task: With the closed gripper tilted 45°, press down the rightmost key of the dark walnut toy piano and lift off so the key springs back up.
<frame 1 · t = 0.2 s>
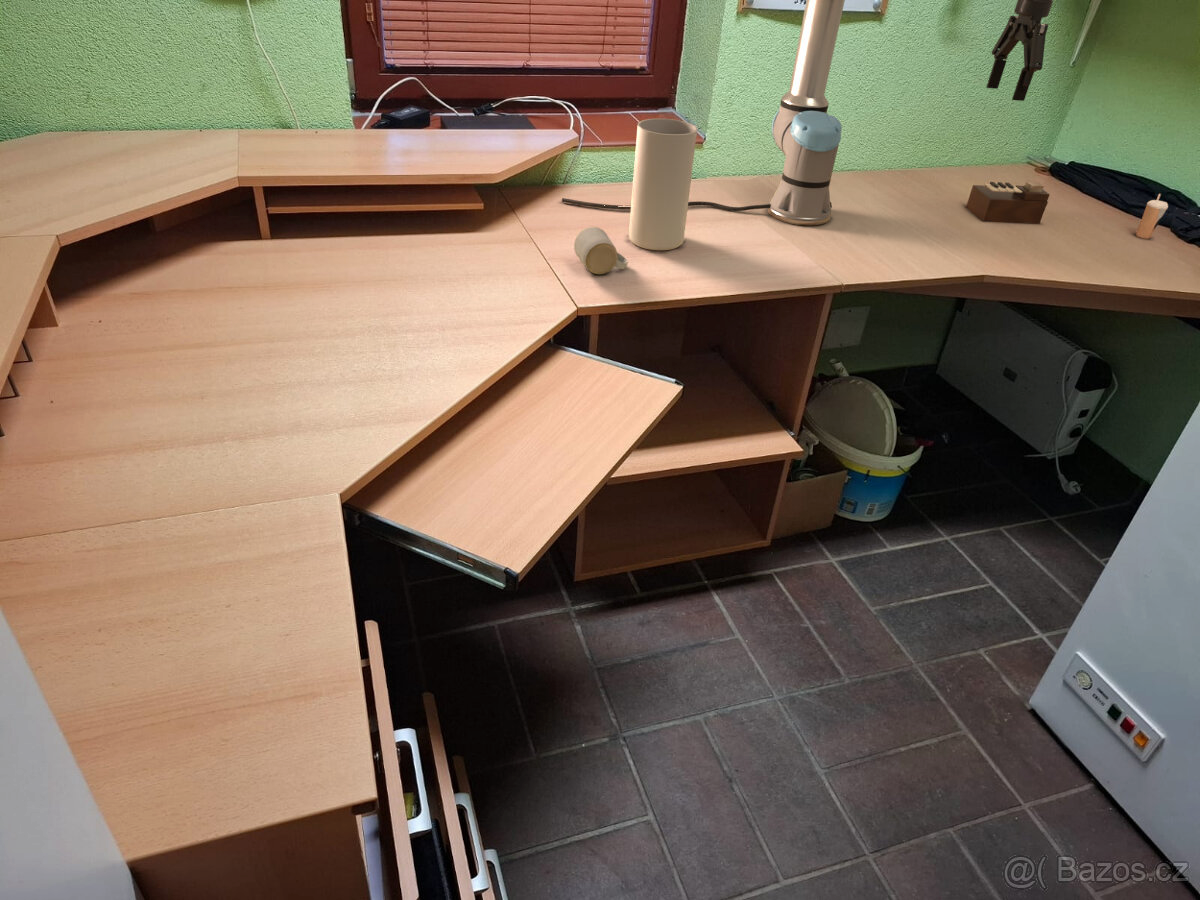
hand: (1004, 94, 200), 28 cm above the table, tool pointing down, fingers open, 13 cm apart
ceramic mug: (601, 268, 171), on the table
key: (1033, 187, 206), point 8 cm above the table, slide at 0.1 cm
keyboard: (1003, 187, 206), on the piano, point 8 cm above the table
piano: (1002, 214, 213), on the table
milkshake: (1142, 236, 206), on the table
cylinder vase: (655, 241, 184), on the table
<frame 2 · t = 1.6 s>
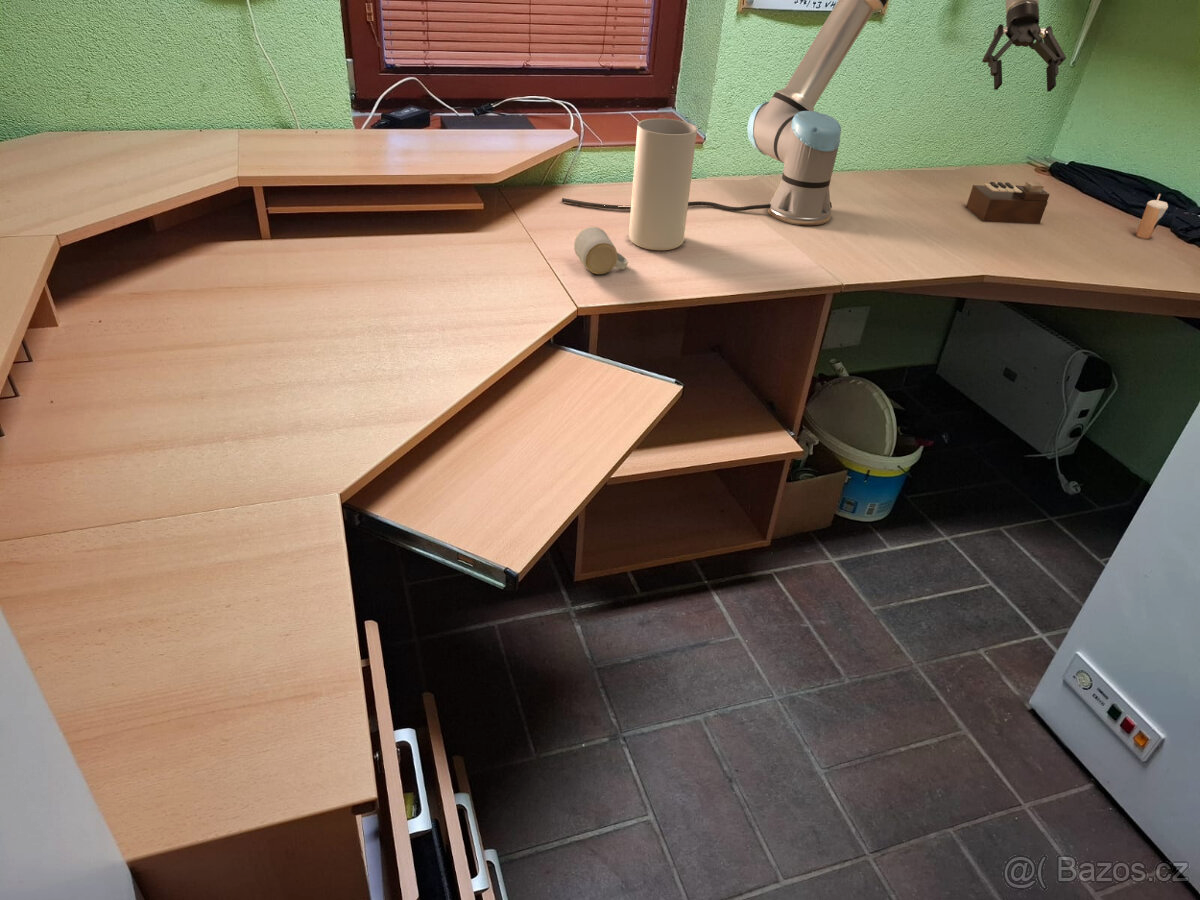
hand: (1024, 87, 206), 28 cm above the table, tool tilted 45°, fingers open, 13 cm apart
nothing on the table moved.
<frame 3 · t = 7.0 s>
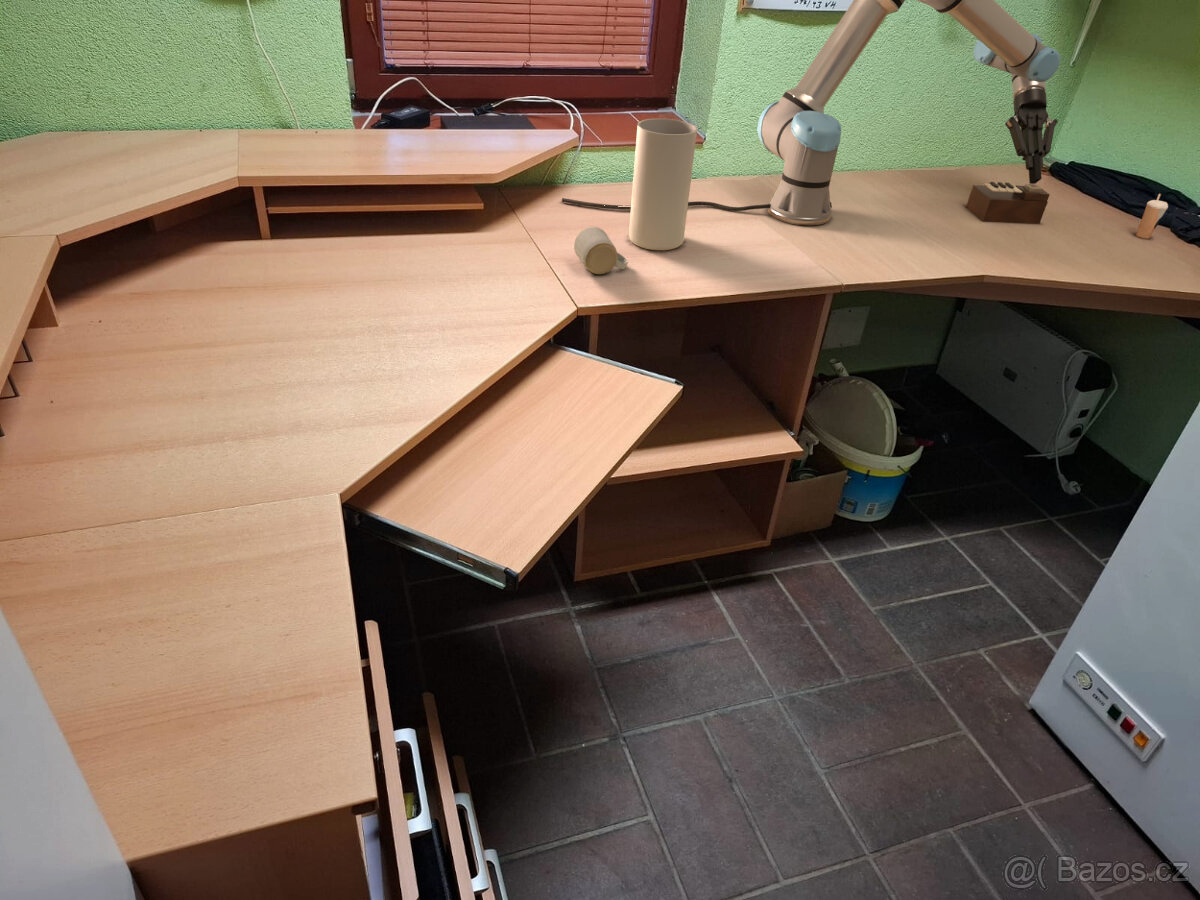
hand: (1035, 181, 206), 10 cm above the table, tool tilted 45°, fingers closed
key: (1032, 190, 207), point 7 cm above the table, slide at -0.6 cm, touching gripper
everything else where it was.
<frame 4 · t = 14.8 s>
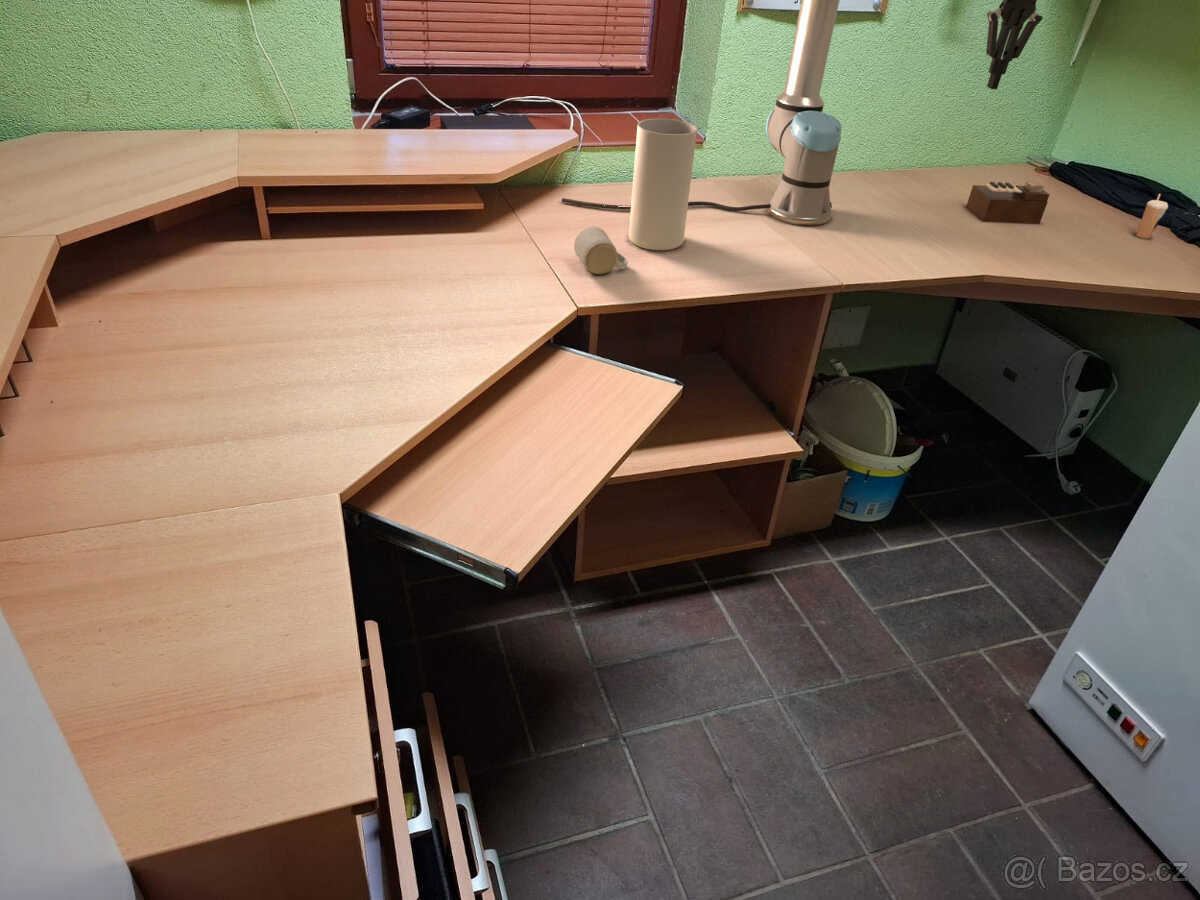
hand: (991, 87, 204), 28 cm above the table, tool pointing down, fingers closed
key: (1033, 187, 206), point 8 cm above the table, slide at 0.1 cm
everything else where it was.
at the end: key pushed in 1.3 cm at the most during the clip, back to where it started at the end; key slide at 0.1 cm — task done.
